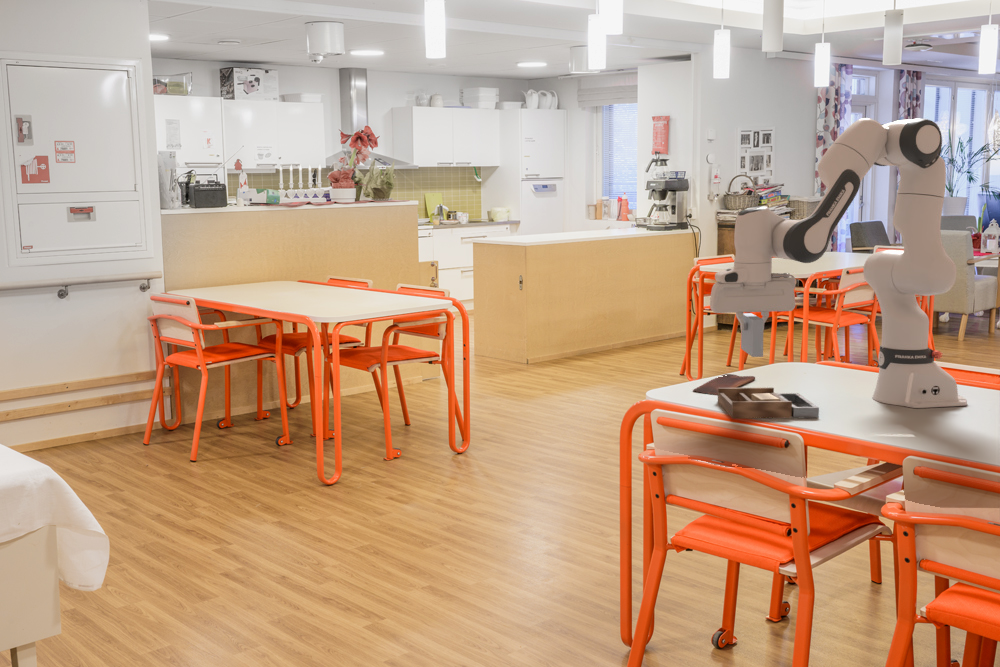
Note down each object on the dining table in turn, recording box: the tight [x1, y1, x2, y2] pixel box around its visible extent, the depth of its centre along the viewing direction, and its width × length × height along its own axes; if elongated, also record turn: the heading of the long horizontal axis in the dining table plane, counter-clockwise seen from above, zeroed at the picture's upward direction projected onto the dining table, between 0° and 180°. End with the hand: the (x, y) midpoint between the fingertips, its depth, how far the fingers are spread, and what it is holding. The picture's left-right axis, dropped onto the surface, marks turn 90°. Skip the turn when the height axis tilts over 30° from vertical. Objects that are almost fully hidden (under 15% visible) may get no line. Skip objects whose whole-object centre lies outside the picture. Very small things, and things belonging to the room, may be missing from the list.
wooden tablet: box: [692, 373, 756, 396], centre depth 263 cm, size 26×2×10 cm
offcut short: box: [752, 393, 779, 401], centre depth 234 cm, size 4×7×2 cm, turn 4°
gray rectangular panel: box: [740, 312, 764, 358], centre depth 231 cm, size 2×12×9 cm, turn 179°
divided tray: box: [717, 387, 793, 419], centre depth 234 cm, size 14×17×4 cm
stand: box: [775, 392, 820, 419], centre depth 233 cm, size 6×17×2 cm, turn 179°
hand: (752, 329), depth 231 cm, fingers closed on gray rectangular panel, 2 cm apart
